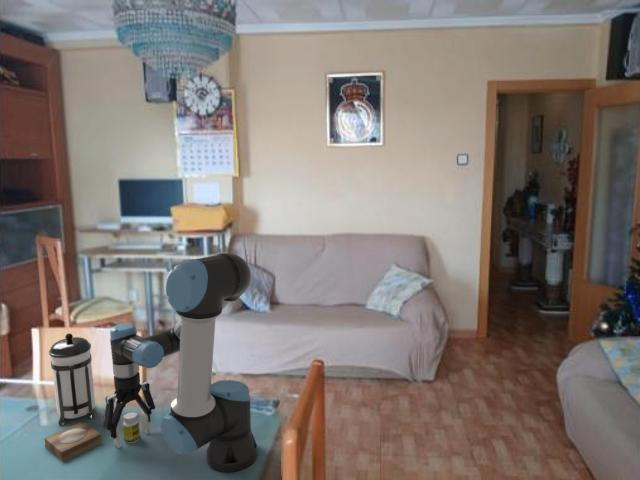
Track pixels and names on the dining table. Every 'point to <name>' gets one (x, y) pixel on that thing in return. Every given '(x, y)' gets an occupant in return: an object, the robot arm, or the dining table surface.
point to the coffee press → (72, 378)
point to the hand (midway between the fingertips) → (132, 438)
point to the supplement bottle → (131, 428)
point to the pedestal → (72, 441)
